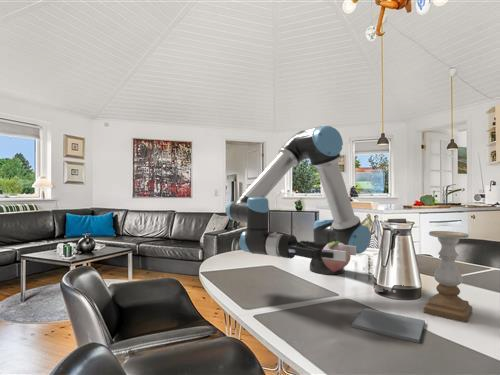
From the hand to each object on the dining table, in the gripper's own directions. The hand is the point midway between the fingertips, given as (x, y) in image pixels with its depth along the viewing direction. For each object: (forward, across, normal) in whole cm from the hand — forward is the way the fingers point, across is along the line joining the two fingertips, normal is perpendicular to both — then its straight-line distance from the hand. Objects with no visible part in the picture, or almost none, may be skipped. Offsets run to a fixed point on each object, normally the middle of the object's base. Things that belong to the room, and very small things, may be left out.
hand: (350, 253), depth 94 cm
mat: (+11, -1, +18) cm, 21 cm away
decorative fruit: (-4, 0, +6) cm, 8 cm away
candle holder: (+24, +19, +18) cm, 35 cm away
